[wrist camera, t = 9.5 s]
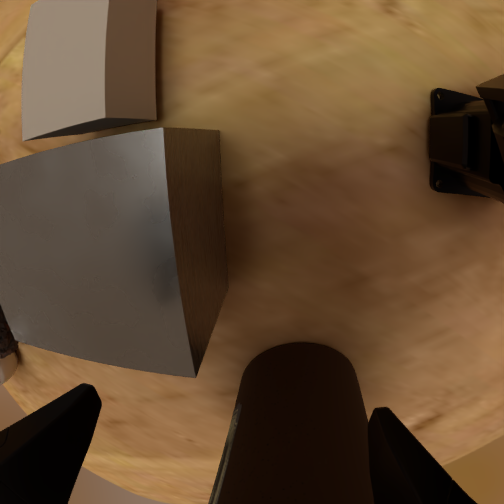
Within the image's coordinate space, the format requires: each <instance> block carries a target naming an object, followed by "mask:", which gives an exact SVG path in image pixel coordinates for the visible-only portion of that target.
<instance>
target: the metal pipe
mask: <svg viewBox="0 0 504 504" xmlns="http://www.w3.org/2000/svg"><path fill="white" fill-rule="evenodd" d="M16 349H18V341H16V340H15V338H14V336H13V334H12V332H11V329H10V327H9V325H8V322H7V320H6V317H5V315H4V312H3V310H2V307H1V305H0V359H3V358H5V357H6V356H8V355H11V353H14V351H15V350H16Z"/></svg>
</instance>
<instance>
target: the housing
mask: <svg viewBox="0 0 504 504" xmlns="http://www.w3.org/2000/svg"><path fill="white" fill-rule="evenodd" d="M227 290H228V274H227V260H226V246H225V231H224V215H223V198H222V180H221V160H220V139H219V130H206V129H189V128H156V129H149V130H142V131H136V132H130V133H124V134H118V135H113V136H107V137H102V138H97V139H93V140H88V141H83V142H79V143H75V144H70V145H66V146H62V147H58V148H54V149H50V150H47V151H43V152H39V153H36V154H32V155H29V156H26V157H22V158H19V159H16V160H13V161H10V162H7V163H4V164H1V165H0V305H1V307H2V310H3V312H4V315H5V317H6V320H7V322H8V325H9V327H10V329H11V332H12V334H13V336H14V338H15V340H16V341H19V342H22V343H25V344H28V345H32V346H35V347H38V348H42V349H45V350H49V351H53V352H56V353H60V354H64V355H68V356H72V357H76V358H80V359H85V360H89V361H94V362H98V363H103V364H108V365H113V366H118V367H123V368H129V369H135V370H141V371H147V372H153V373H160V374H167V375H175V376H183V377H192V378H196V376H197V373H198V371H199V368H200V365H201V362H202V359H203V357H204V354H205V351H206V348H207V345H208V343H209V340H210V337H211V334H212V332H213V329H214V326H215V323H216V321H217V318H218V315H219V312H220V309H221V307H222V304H223V301H224V298H225V296H226V293H227Z"/></svg>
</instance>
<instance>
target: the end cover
mask: <svg viewBox="0 0 504 504" xmlns="http://www.w3.org/2000/svg"><path fill="white" fill-rule="evenodd" d="M156 7H157V0H38V1H37V2H35V3H34V4H32V5H31V8H30V14H29V19H28V26H27V33H26V40H25V49H24V59H23V73H22V137H23V141H27V140H34V139H42V138H50V137H58V136H68V135H78V134H85V133H89V132H94V131H98V130H103V129H108V128H113V127H118V126H123V125H128V124H134V123H140V122H146V121H153V120H157V118H156V88H155V35H156Z"/></svg>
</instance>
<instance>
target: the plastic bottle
mask: <svg viewBox="0 0 504 504" xmlns="http://www.w3.org/2000/svg"><path fill="white" fill-rule="evenodd" d="M17 363H18V359H17V355H16V353H15V351H14V353H11V355H8V356H6V357H5V358H3V359H0V385H2V384H3V383H5V382H6V381H7V380H9V379H10V378H11V377H12V376H13V374H14V372H15V371H16V369H17Z"/></svg>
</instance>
